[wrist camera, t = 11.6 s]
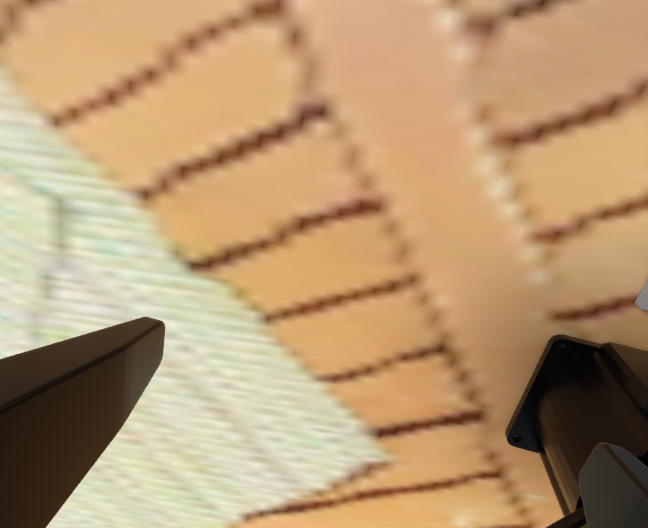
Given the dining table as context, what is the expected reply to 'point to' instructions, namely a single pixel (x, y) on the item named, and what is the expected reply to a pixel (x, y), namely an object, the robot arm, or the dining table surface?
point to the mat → (643, 297)
